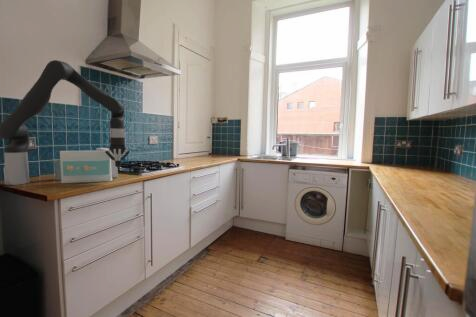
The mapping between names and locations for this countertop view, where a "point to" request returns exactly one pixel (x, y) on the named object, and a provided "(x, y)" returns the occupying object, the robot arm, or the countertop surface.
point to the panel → (101, 169)
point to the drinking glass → (57, 169)
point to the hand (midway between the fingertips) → (118, 167)
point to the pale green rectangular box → (84, 157)
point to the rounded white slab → (113, 168)
